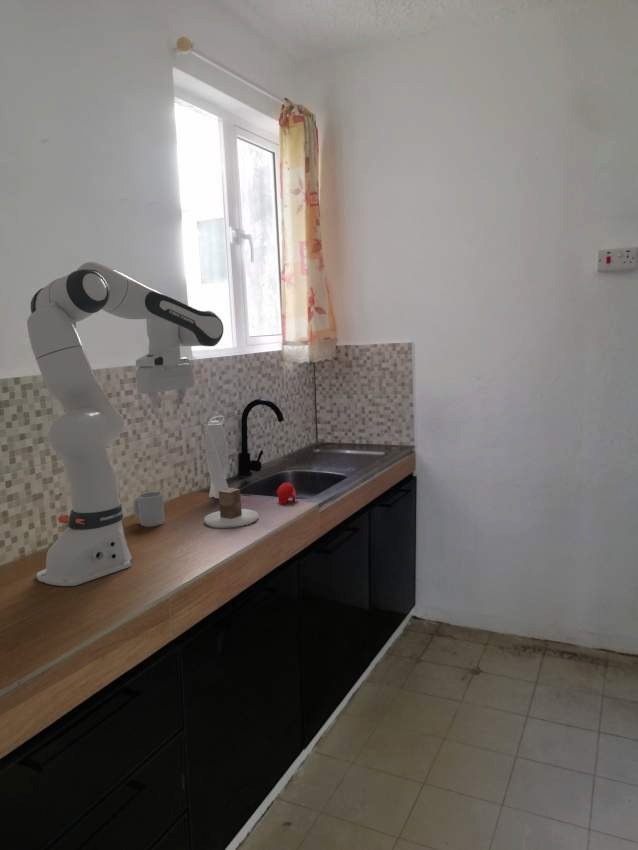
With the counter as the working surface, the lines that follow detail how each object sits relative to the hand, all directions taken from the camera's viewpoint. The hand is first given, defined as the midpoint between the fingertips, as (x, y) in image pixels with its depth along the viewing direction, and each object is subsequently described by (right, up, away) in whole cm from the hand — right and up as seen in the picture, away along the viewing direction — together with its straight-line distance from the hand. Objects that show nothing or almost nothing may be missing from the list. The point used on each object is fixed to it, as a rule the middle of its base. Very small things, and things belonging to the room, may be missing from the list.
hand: (168, 406), depth 184 cm
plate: (+18, -34, +5) cm, 39 cm away
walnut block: (+18, -33, +4) cm, 38 cm away
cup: (-7, -35, +5) cm, 36 cm away
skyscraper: (+10, -30, +34) cm, 47 cm away
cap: (+33, -31, +23) cm, 51 cm away
